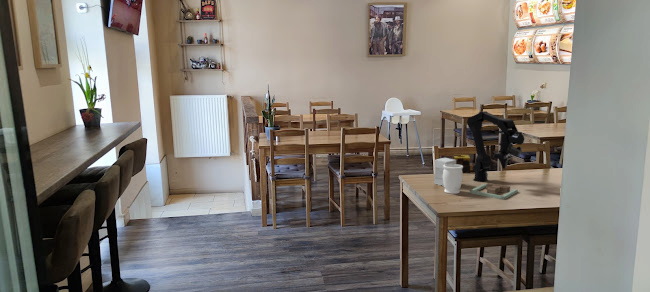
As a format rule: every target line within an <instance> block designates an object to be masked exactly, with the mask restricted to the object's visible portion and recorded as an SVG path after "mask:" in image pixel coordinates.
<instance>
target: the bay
mask: <svg viewBox="0 0 650 292" xmlns="http://www.w3.org/2000/svg"><path fill="white" fill-rule="evenodd" d="M486 184H487V183H484V184H480V185H478V186H476V187H474V188H473V189H470V190H469V194H471V195H472V194H473V195H478V196H483V197H487V198H494V199H499V200H503V201H504V200H506V199H507V198H509V197H512V196H513V195H515V194H517V193H518V192H519V191H518V188H514V189H512V190H510V192H508V193H504V194H502V195H499V194H490V193H487V192H486V191H485V192H483V191H481V190H482V189H486Z"/></svg>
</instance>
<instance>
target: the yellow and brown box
mask: <svg viewBox="0 0 650 292" xmlns="http://www.w3.org/2000/svg"><path fill="white" fill-rule="evenodd" d="M460 155H461V156H454V155H453V159H454V160H456V164H458V165H462V166H463V168H462V173H463V174H465V173H466V174H471V164H470V163H471V157H470V155H468V154H460Z"/></svg>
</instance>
